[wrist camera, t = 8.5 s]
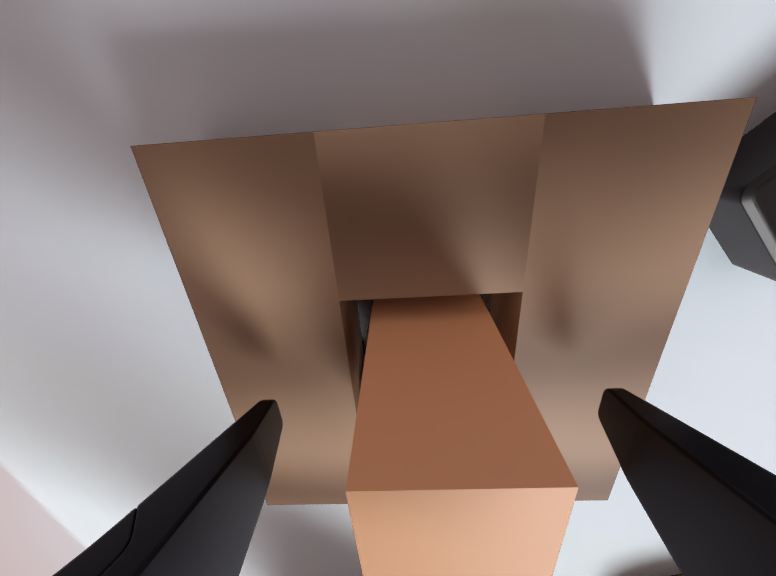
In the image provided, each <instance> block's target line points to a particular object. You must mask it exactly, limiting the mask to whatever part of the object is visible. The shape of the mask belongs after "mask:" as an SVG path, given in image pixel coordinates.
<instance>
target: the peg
mask: <svg viewBox="0 0 776 576" xmlns="http://www.w3.org/2000/svg"><path fill="white" fill-rule="evenodd" d="M577 491H578V485H577V483H576V481H575V479H574V477H573V475H572V474H571V472H570V470H569V468H568V466H567V464H566V462H565V460H564V458H563V456H562V454H561V452H560V450H559V448H558V446H557V444H556V442H555V440H554V438H553V436H552V434H551V432H550V430H549V429H548V427H547V425H546V423H545V421H544V419H543V417H542V415H541V413H540V411H539V409H538V407H537V405H536V403H535V401H534V399H533V397H532V395H531V393H530V391H529V389H528V387H527V385H526V384H525V382H524V380H523V378H522V376H521V374H520V372H519V370H518V368H517V366H516V364H515V362H514V360H513V358H512V356H511V354H510V352H509V350H508V348H507V346H506V344H505V342H504V340H503V339H502V337H501V335H500V333H499V331H498V329H497V327H496V325H495V323H494V321H493V319H492V317H491V315H490V313H489V311H488V309H487V307H486V305H485V303H484V301H483V299H482V297H481V295H480V294H470V295H449V296H429V297H408V298H388V299H373V305H372V312H371V319H370V326H369V333H368V340H367V347H366V353H365V360H364V367H363V374H362V381H361V388H360V395H359V402H358V409H357V415H356V422H355V429H354V436H353V443H352V450H351V457H350V464H349V471H348V478H347V484H346V491H345V492H346V497H347V501H348V506H349V511H350V516H351V521H352V526H353V530H354V535H355V540H356V545H357V550H358V555H359V559H360V564H361V569H362V574H363V576H553V572H554V569H555V565H556V562H557V559H558V555H559V552H560V548H561V545H562V542H563V538H564V535H565V532H566V528H567V525H568V521H569V518H570V515H571V511H572V508H573V504H574V501H575V498H576V494H577Z"/></svg>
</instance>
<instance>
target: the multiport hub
mask: <svg viewBox="0 0 776 576" xmlns="http://www.w3.org/2000/svg"><path fill="white" fill-rule="evenodd" d="M709 228H710V230H711V231H712V233H713V234H714V236H715V237H716V239H717V241H718V242H719V244H720V245H721V247H722V249H723V250H724V252H725V253H726V255H727V256H728V258H729V260H730V261H731V263H732V264H734V265H736V266H739V267H741V268H744V269H746V270H749V271H751V272H754V273H757V274H759V275H762V276H764V277H767V278H769V279H772V280H774V281H776V112H775V113H774V114H772V115H771V116H770V117H768V118H767V119H766V120H764V121H763V122H762V123H760V124H759V125H758V126H756V127H755V128H754V129H752V130H751V131H750V132H748V133H747V134H746V135H744V136H743V137H742V138H741V141H740V144H739V147H738V149H737V152H736V155H735V157H734V160H733V163H732V165H731V168H730V171H729V174H728V176H727V179H726V182H725V184H724V187H723V190H722V192H721V195H720V198H719V201H718V203H717V206H716V209H715V211H714V214H713V217H712V220H711V222H710V225H709Z"/></svg>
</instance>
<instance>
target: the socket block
mask: <svg viewBox="0 0 776 576" xmlns="http://www.w3.org/2000/svg"><path fill="white" fill-rule="evenodd" d="M756 98H757V97H751V98H738V99H725V100H713V101H700V102H687V103H674V104H661V105H649V106H636V107H623V108H610V109H597V110H585V111H572V112H559V113H546V114H534V115H521V116H508V117H495V118H482V119H470V120H457V121H444V122H431V123H419V124H406V125H393V126H380V127H367V128H355V129H342V130H329V131H316V132H303V133H291V134H278V135H265V136H252V137H240V138H227V139H214V140H201V141H188V142H176V143H163V144H150V145H137V146H131V149H132V151H133V154H134V157H135V159H136V162H137V165H138V167H139V170H140V172H141V175H142V178H143V180H144V183H145V186H146V188H147V191H148V193H149V196H150V199H151V201H152V204H153V206H154V209H155V212H156V214H157V217H158V220H159V222H160V225H161V227H162V230H163V233H164V235H165V238H166V241H167V243H168V246H169V248H170V251H171V254H172V256H173V259H174V262H175V264H176V267H177V269H178V272H179V275H180V277H181V280H182V282H183V285H184V288H185V290H186V293H187V296H188V298H189V301H190V303H191V306H192V309H193V311H194V314H195V317H196V319H197V322H198V324H199V327H200V330H201V332H202V335H203V338H204V340H205V343H206V345H207V348H208V351H209V353H210V356H211V359H212V361H213V364H214V366H215V369H216V372H217V374H218V377H219V379H220V382H221V385H222V387H223V390H224V393H225V395H226V398H227V400H228V403H229V406H230V408H231V411H232V414H233V416H234V419H235V421H237V420H238V419H239V418H240V417H241V416H243V415H244V414H245V413H246V412H247V411H248V410H250V409H251V408H252V407H253V406H254V405H255V404H257V403H258V402H259V401H261V400H268V399H274V400H276V401H277V403H278V406H279V410H280V413H281V417H282V420H283V427H282V432H281V437H280V441H279V445H278V450H277V454H276V459H275V463H274V467H273V472H272V476H271V480H270V484H269V487H268V490H267V493H266V496H265V500H266V503H267V505H294V504H348V501H347V497H346V492H345V491H346V484H347V478H348V471H349V464H350V457H351V450H352V443H353V436H354V429H355V422H356V415H357V409H358V402H359V395H360V388H361V381H362V374H363V367H364V352H363V344H362V336H361V328H360V320H359V312H358V304H357V300H368V299H388V298H408V297H429V296H449V295H470V294H490V293H491V299H490V312H489V313H490V315H491V317H492V319H493V321H494V323H495V325H496V327H497V329H498V331H499V333H500V335H501V337H502V339H503V340H504V342H505V344H506V346H507V348H508V350H509V352H510V354H511V356H512V358H513V360H514V362H515V364H516V366H517V368H518V370H519V372H520V374H521V376H522V378H523V380H524V382H525V384H526V385H527V387H528V389H529V391H530V393H531V395H532V397H533V399H534V401H535V403H536V405H537V407H538V409H539V411H540V413H541V415H542V417H543V419H544V421H545V423H546V425H547V427H548V429H549V430H550V432H551V434H552V436H553V438H554V440H555V442H556V444H557V446H558V448H559V450H560V452H561V454H562V456H563V458H564V460H565V462H566V464H567V466H568V468H569V470H570V472H571V474H572V475H573V477H574V479H575V481H576V483H577V485H578V491H577V494H576V498H575V501H580V500H608V498H609V495H610V493H611V490H612V487H613V484H614V482H615V479H616V476H617V474H618V471H619V468H620V464H619V461H618V459H617V457H616V455H615V453H614V451H613V448H612V446H611V444H610V442H609V440H608V438H607V435H606V433H605V431H604V429H603V427H602V424H601V422H600V420H599V417H598V409H599V405H600V402H601V398H602V395H603V392H604V390H605V389H607V388H623V389H625V390H627V391H629V392H631V393H632V394H634V395H636V396H638V397H640V398H641V399H643V400H645V398H646V395H647V393H648V390H649V387H650V384H651V382H652V379H653V376H654V374H655V371H656V368H657V366H658V363H659V360H660V357H661V355H662V352H663V349H664V347H665V344H666V341H667V338H668V336H669V333H670V330H671V328H672V325H673V322H674V320H675V317H676V314H677V311H678V309H679V306H680V303H681V301H682V298H683V295H684V293H685V290H686V287H687V284H688V282H689V279H690V276H691V274H692V271H693V268H694V265H695V263H696V260H697V257H698V255H699V252H700V249H701V247H702V244H703V241H704V238H705V236H706V233H707V230H708V228H709V225H710V222H711V220H712V217H713V214H714V211H715V209H716V206H717V203H718V201H719V198H720V195H721V192H722V190H723V187H724V184H725V182H726V179H727V176H728V174H729V171H730V168H731V165H732V163H733V160H734V157H735V155H736V152H737V149H738V147H739V144H740V141H741V138H742V136H743V133H744V130H745V128H746V125H747V122H748V119H749V117H750V114H751V111H752V109H753V106H754V103H755V101H756Z"/></svg>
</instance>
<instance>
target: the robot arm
mask: <svg viewBox="0 0 776 576" xmlns="http://www.w3.org/2000/svg"><path fill="white" fill-rule="evenodd" d="M598 417H599V420H600V422H601V424H602V427H603V429H604V431H605V433H606V435H607V438H608V440H609V442H610V444H611V446H612V448H613V451H614V453H615V455H616V457H617V459H618V461H619V464H620V466H621V468H622V470H623V472H624V474H625V476H626V478H627V480H628V482H629V483H630V485H631V487H632V489H633V491H634V492H635V494H636V496H637V497H638V499H639V501H640V503H641V504H642V506H643V508H644V510H645V511H646V513H647V515H648V516H649V518H650V520H651V522H652V523H653V525H654V527H655V529H656V530H657V532H658V534H659V535H660V537H661V539H662V541H663V542H664V544H665V546H666V548H667V549H668V551H669V553H670V554H671V556H672V558H673V560H674V561H675V563H676V565H677V567H678V568H679V570H680V572H681V573H682V575H683V576H776V475H775V474H773V473H771V472H769V471H768V470H766V469H764V468H762V467H761V466H759V465H757V464H755V463H754V462H752V461H750V460H748V459H747V458H745V457H743V456H741V455H739V454H738V453H736V452H734V451H732V450H731V449H729V448H727V447H725V446H724V445H722V444H720V443H718V442H717V441H715V440H713V439H711V438H710V437H708V436H706V435H704V434H703V433H701V432H699V431H697V430H696V429H694V428H692V427H690V426H689V425H687V424H685V423H683V422H682V421H680V420H678V419H676V418H675V417H673V416H671V415H669V414H668V413H666V412H664V411H662V410H661V409H659V408H657V407H655V406H654V405H652V404H650V403H648V402H647V401H645V400H643V399H641V398H640V397H638V396H636V395H634V394H632V393H631V392H629V391H627V390H625V389H623V388H607V389H605V390H604V392H603V395H602V398H601V402H600V405H599V409H598ZM282 427H283V420H282V417H281V413H280V410H279V406H278V403H277V401H276V400H274V399H268V400H261V401H259V402H258V403H257V404H255V405H254V406H253V407H252V408H251V409H250V410H248V411H247V412H246V413H245V414H244V415H243V416H241V417H240V418H239V419H238V420H237V421H236V422H235V423H233V424H232V425H231V426H230V427H229V428H228V429H226V430H225V431H224V432H223V433H222V434H221V435H219V436H218V437H217V438H216V439H215V440H214V441H212V442H211V443H210V444H209V445H208V446H207V447H205V448H204V449H203V450H202V451H201V452H200V453H199V454H197V455H196V456H195V457H194V458H193V459H192V460H190V461H189V462H188V463H187V464H186V465H185V466H183V467H182V468H181V469H180V470H179V471H178V472H176V473H175V474H174V475H173V476H172V477H171V478H169V479H168V480H167V481H166V482H165V483H164V484H162V485H161V486H160V487H159V488H158V489H157V490H156V491H154V492H153V493H152V494H151V495H150V496H149V497H147V498H146V499H145V500H144V501H143V502H142V503H140V504H139V505H138V507H137V508H135V509H133V510H132V511H131V512H130V513H129V514H127V515H126V516H125V517H124V518H123V519H122V520H121V521H119V522H118V523H117V524H116V525H115V526H113V527H112V528H111V529H110V530H109V531H107V532H106V533H105V534H104V535H103V536H101V537H100V538H99V539H98V540H97V541H95V542H94V543H93V544H92V545H91V546H89V547H88V548H87V549H86V550H84V551H83V552H82V553H81V554H79V555H78V556H77V557H76V558H74V559H73V560H72V561H71V562H69V563H68V564H67V565H66V566H64V567H63V568H62V569H60V570H59V571H58V572H57V573H55V574H54V575H53V576H239V574H240V571H241V568H242V565H243V562H244V559H245V556H246V553H247V550H248V547H249V544H250V541H251V538H252V535H253V532H254V529H255V526H256V523H257V520H258V517H259V514H260V511H261V508H262V505H263V502H264V499H265V496H266V493H267V490H268V487H269V484H270V480H271V476H272V472H273V467H274V463H275V459H276V454H277V450H278V445H279V441H280V437H281V432H282Z"/></svg>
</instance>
